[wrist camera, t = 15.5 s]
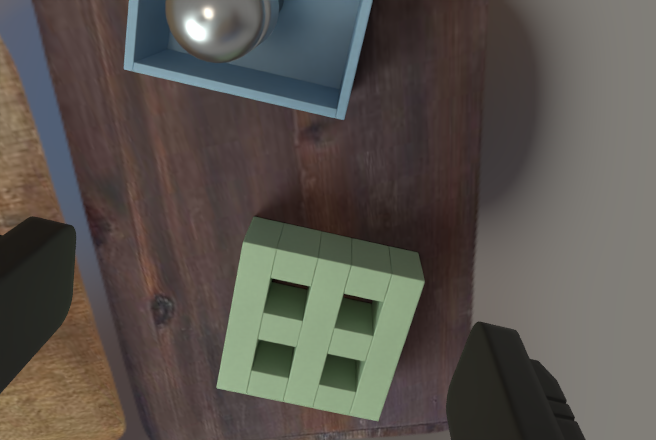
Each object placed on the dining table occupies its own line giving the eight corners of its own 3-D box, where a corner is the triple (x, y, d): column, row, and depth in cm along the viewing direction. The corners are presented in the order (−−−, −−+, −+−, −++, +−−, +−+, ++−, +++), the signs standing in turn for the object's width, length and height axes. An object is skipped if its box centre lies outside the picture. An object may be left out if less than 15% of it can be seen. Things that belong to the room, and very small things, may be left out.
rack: (418, 252, 48) (425, 281, 44) (376, 383, 54) (378, 421, 49) (253, 215, 48) (243, 241, 43) (228, 352, 53) (216, 388, 48)
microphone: (303, -27, 40) (266, -30, 23) (291, 38, 41) (248, 80, 24) (241, -42, 39) (156, -57, 22) (231, 24, 41) (146, 56, 24)
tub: (383, -63, 39) (389, -72, 32) (345, 97, 43) (344, 120, 36) (178, -114, 38) (139, -134, 31) (160, 54, 43) (123, 69, 36)
